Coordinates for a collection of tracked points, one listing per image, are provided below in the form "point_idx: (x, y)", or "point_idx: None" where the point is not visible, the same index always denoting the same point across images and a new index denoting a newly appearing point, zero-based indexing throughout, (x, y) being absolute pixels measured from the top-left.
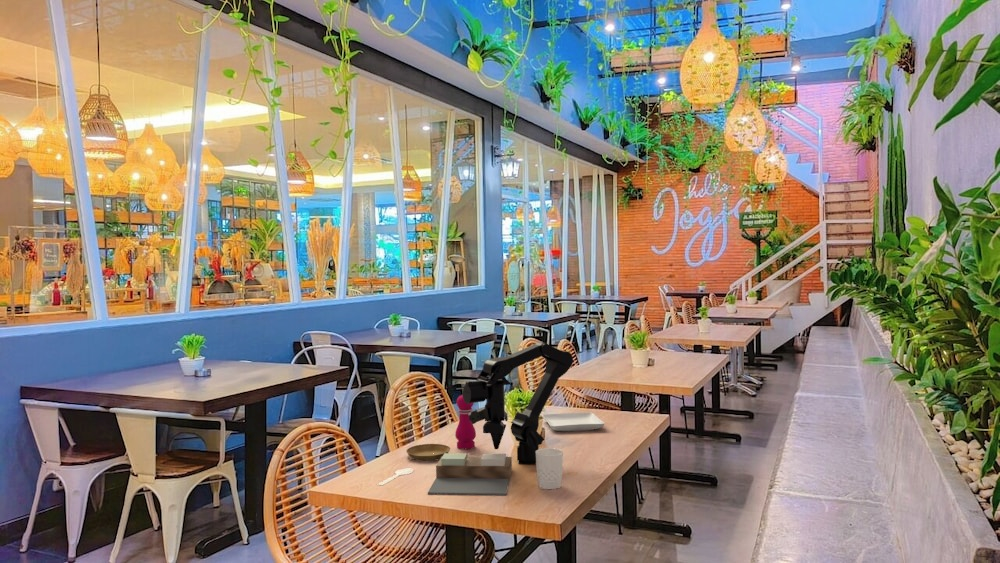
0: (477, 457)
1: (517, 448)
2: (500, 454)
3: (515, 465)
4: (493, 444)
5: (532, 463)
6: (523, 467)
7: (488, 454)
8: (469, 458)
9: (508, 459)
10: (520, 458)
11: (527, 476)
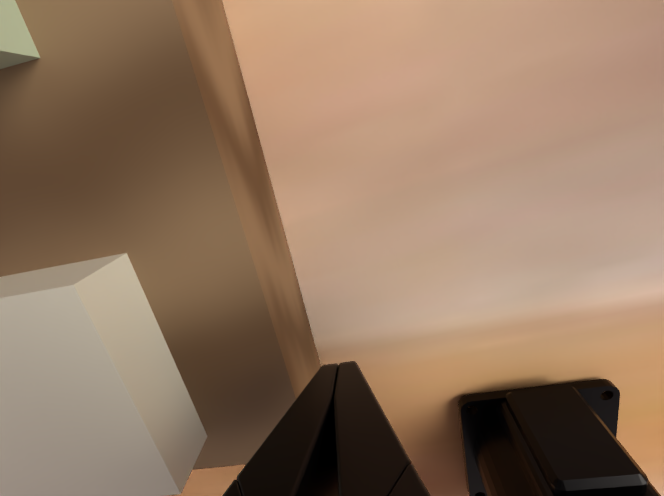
0: (189, 158)
1: (555, 483)
2: (132, 459)
3: (430, 379)
4: (290, 407)
5: (466, 469)
6: (393, 428)
7: (69, 354)
8: (107, 67)
9: (236, 448)
10: (504, 425)
11: (228, 469)
